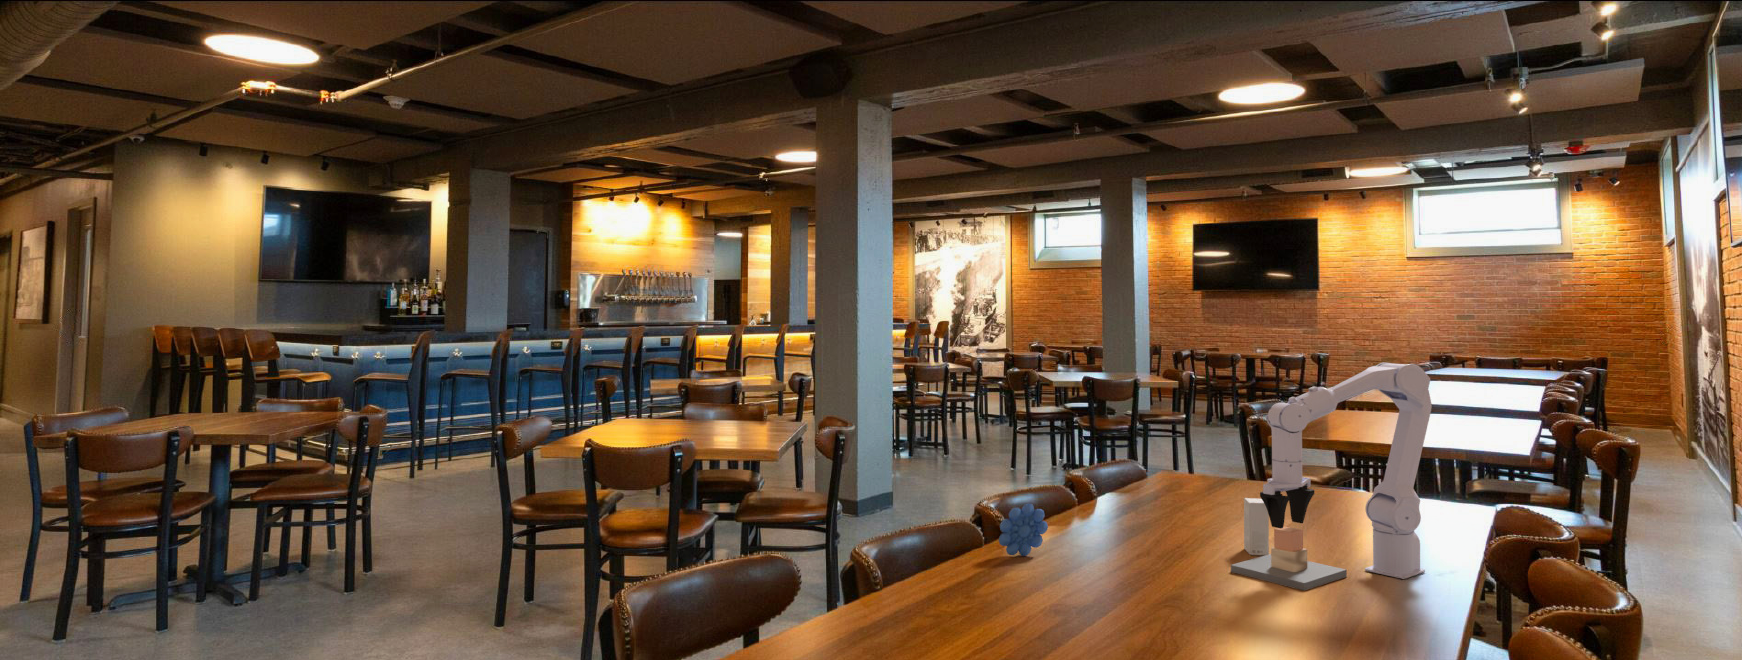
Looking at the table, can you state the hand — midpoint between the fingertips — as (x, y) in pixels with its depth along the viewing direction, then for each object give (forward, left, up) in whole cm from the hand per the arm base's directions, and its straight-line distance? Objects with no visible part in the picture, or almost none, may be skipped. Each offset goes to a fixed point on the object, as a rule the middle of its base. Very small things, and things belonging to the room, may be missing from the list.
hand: (1287, 524), depth 180 cm
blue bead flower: (+34, -44, -11) cm, 57 cm away
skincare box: (-11, -14, -11) cm, 21 cm away
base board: (0, 0, -10) cm, 10 cm away
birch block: (0, 0, -9) cm, 9 cm away
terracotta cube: (0, 0, -5) cm, 5 cm away
